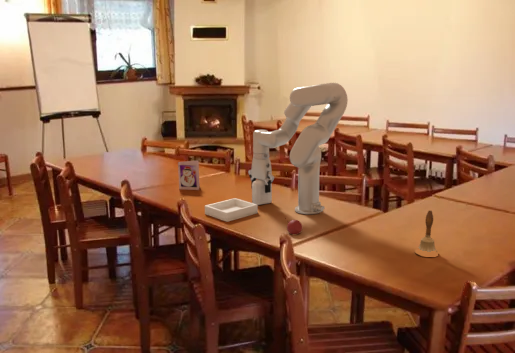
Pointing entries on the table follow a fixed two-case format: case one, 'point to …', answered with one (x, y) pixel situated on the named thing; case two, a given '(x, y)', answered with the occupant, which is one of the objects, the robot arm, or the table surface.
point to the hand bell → (428, 235)
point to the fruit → (294, 227)
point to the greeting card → (189, 175)
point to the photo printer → (260, 193)
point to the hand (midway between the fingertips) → (260, 190)
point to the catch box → (231, 209)
